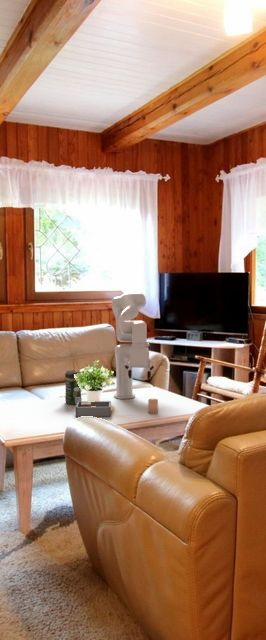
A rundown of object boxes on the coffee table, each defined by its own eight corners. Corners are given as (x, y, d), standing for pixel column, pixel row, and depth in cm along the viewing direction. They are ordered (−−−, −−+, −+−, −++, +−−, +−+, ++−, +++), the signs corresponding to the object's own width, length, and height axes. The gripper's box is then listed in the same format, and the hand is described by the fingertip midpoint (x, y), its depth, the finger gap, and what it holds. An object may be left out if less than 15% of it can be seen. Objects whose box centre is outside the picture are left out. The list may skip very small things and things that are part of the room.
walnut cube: (91, 411, 281) (91, 402, 281) (90, 413, 276) (90, 404, 276) (81, 411, 281) (81, 402, 281) (80, 413, 276) (80, 404, 276)
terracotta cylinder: (148, 411, 282) (148, 398, 282) (157, 411, 283) (157, 398, 282) (148, 414, 278) (148, 400, 277) (158, 414, 278) (158, 400, 277)
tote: (78, 410, 285) (78, 401, 285) (111, 410, 285) (110, 401, 285) (75, 417, 272) (75, 407, 271) (110, 416, 272) (110, 407, 272)
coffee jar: (63, 402, 304) (62, 370, 303) (76, 400, 308) (75, 369, 307) (70, 405, 296) (70, 372, 295) (83, 404, 300) (83, 371, 299)
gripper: (157, 345, 279) (157, 377, 280) (124, 344, 283) (124, 376, 284) (154, 346, 272) (154, 380, 273) (121, 346, 275) (121, 379, 276)
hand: (139, 378), depth 278 cm, fingers open, 9 cm apart
